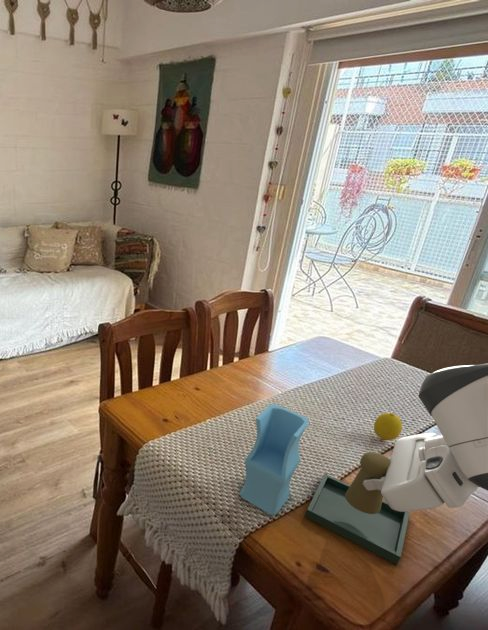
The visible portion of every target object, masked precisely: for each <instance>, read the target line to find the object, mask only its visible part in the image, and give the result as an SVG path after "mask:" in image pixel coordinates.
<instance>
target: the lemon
mask: <svg viewBox="0 0 488 630" xmlns="http://www.w3.org/2000/svg"><path fill="white" fill-rule="evenodd" d="M373 430H374V433H375V434H376V436H377V437H378V438H380V439H381V441H393V440H395V439H397V438H399V437H400V434H401V433H402V430H403V422H402V420H401V418H400V417H399V416H397V415H396V414H395V413H394V412H384V413H382V414H381V413H380V415H378V417H377V418H376V419H375V421H374V424H373Z"/></svg>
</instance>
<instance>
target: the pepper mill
mask: <svg viewBox="0 0 488 630" xmlns="http://www.w3.org/2000/svg"><path fill="white" fill-rule="evenodd" d="M359 463H360V467H361V468H360V469H359V470H358V472H357V474H356V476H355V477H354V478H353V480H352V482H351V483H350V484H349V485H350V487H349V489H348V490H347V492H346V494H345V498H346V500H347V502H348V503H349V504H350V505H351V506H353V507H354V508H355V509H357V510H359V511H361V512H364V513H368V514H377V513H378V512H380V510H381V505H382V500H384V498H383V496H382V494H381V490H370V491H369V490H367V489H366V488H365V486H364V485H363V482H364V479H365V478H369V477H373V478H374V479H381V477H385V476H386V473H387V470H388V467H389V465H390V463H391V461H390V459H389V458H387V455H384V454H382V453H380V452H376V451H375V452H374V451H368V452H366V453H364V454H363V455H362V456H361V457H360V462H359Z"/></svg>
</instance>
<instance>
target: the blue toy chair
mask: <svg viewBox="0 0 488 630" xmlns="http://www.w3.org/2000/svg"><path fill="white" fill-rule="evenodd" d="M310 422H311V421H310V419H309V418H308V417H307V416H305V415H302V414H300V413H298V412H295V411H293V410H291V409H288V408H286V407H283V406H281V405H278V404H275V403H274V404H269V405H267V407H266V408H265V409H263V411H262V412H260V413H259V415H257V416H256V417H255V425H256V438H255V442H254V445H253V447H252V448H251V450H250V452H249V453H248V454H247V456H246V458H245V460H244V466H245V467H244V468H245V480H244V484H243V486H242V487H241V490H240V492H239V496H240V497H241V498H242V499H243V500H245V501H246V502H248V503H250V504H251V505H253V506H254V507H256V508H258V509H260V510H261V511H263V512H265V513H267V514H268V515H271V516H275V515H277V513H279V512H280V511H281V509H282V507H284V504H285V503H286V502H287V501H288V499H289V498H290V485H291V480H292V477H293V475H294V473H296V472H295V471H296V470H297V468H298V466H299V465H300V462H301V456H300V455H301V454H300V440H301V439H302V436H303V434H304V432H305V430H306V429H307V427H308V426H309V424H310Z"/></svg>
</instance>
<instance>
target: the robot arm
mask: <svg viewBox="0 0 488 630" xmlns="http://www.w3.org/2000/svg"><path fill="white" fill-rule="evenodd" d="M418 398H419V400H420V402H421V403H422V404H423V406H424V408H425V409H426V412H428V414H429V416H431V417H432V419H433V421H434V423H435V425H436V426H437V429H438V430H439V432H440V434H437V433H435V432H424V433H419V434H418V433H417V434H412V435H407V436H402V437H400V438H398V439H397V440H395V443H394V445H393V448H392V449H393V450H392V454H391V455H388V456H387V455H386V457H387V458H389V459H390V461H391V463H390V465H389V467H388V470H387V473H386V476H385V477H381V479H374V478H373V477H369V478H365V479H364V482H363V485H364V486H365V488H366V489H367V490H369V491H370V490H381V494H382V496H383V500H384V501H386V502H387V503H388V505H389V506H390V508H391V509H393V510H396V511H399V512H407V511H408V512H415V511H416V512H417V511H426V510H433V509H437V508H440V507H442V506H443V505H444V504H445V505H446V506H447V507H448V508H449V509H450V508H451V509H454V508H461V507H463V506H464V505H465V503H466V502H467V500H468V499H469V498H470V496H471V495H472V494H474V493H475V492H476V491H478V488H481V489H482V490H485V491H487V492H488V363H480V364H469V365H455V366H449V367H444V368H441V369H438V370H435V371H433V372H432V373H430V374H427V375H426V376H425V377H424V379H423V381H422V383H421V386H420V388H419V392H418Z"/></svg>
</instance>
